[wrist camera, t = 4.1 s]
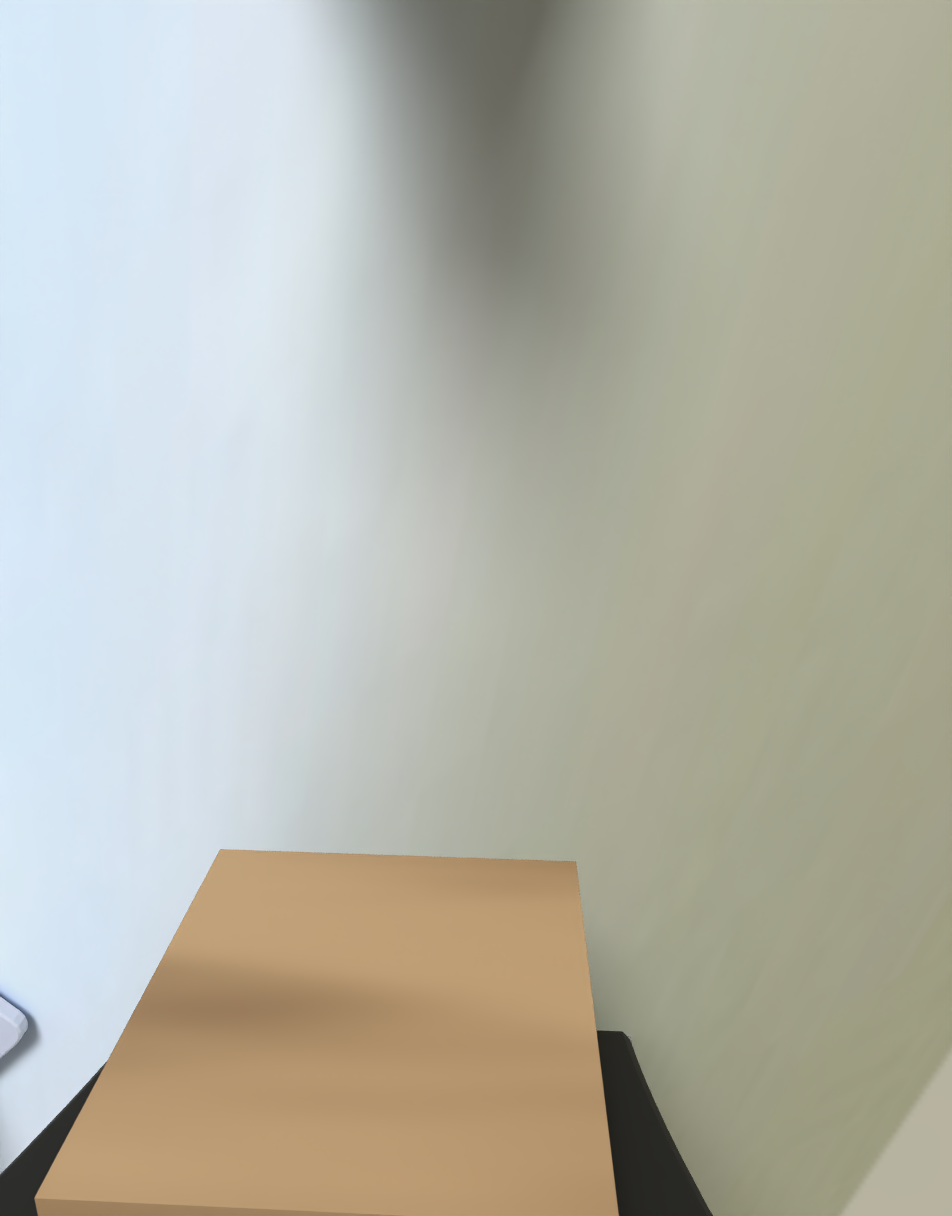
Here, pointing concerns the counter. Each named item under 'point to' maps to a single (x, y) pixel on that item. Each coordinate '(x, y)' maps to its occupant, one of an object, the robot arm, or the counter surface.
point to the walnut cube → (355, 1050)
